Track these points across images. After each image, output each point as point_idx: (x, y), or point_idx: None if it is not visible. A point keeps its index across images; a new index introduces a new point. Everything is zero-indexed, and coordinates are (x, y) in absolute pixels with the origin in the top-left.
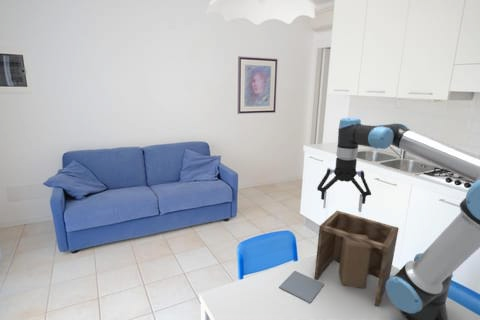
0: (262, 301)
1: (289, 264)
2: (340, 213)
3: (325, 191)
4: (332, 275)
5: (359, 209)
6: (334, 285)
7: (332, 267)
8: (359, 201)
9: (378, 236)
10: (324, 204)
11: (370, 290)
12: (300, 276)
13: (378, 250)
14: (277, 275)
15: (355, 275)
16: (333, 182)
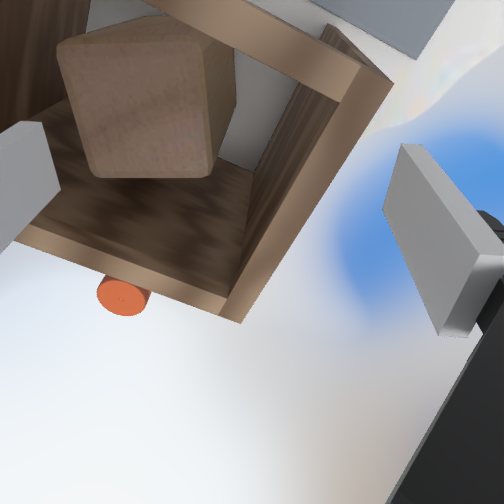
0: None
1: (427, 106)
2: (222, 296)
3: (463, 319)
4: (261, 75)
5: (24, 133)
6: (259, 4)
7: (257, 129)
8: (1, 223)
9: None
10: (428, 162)
11: (124, 12)
12: (398, 20)
13: (63, 148)
14: (499, 8)
15: (172, 18)
16: (451, 479)
